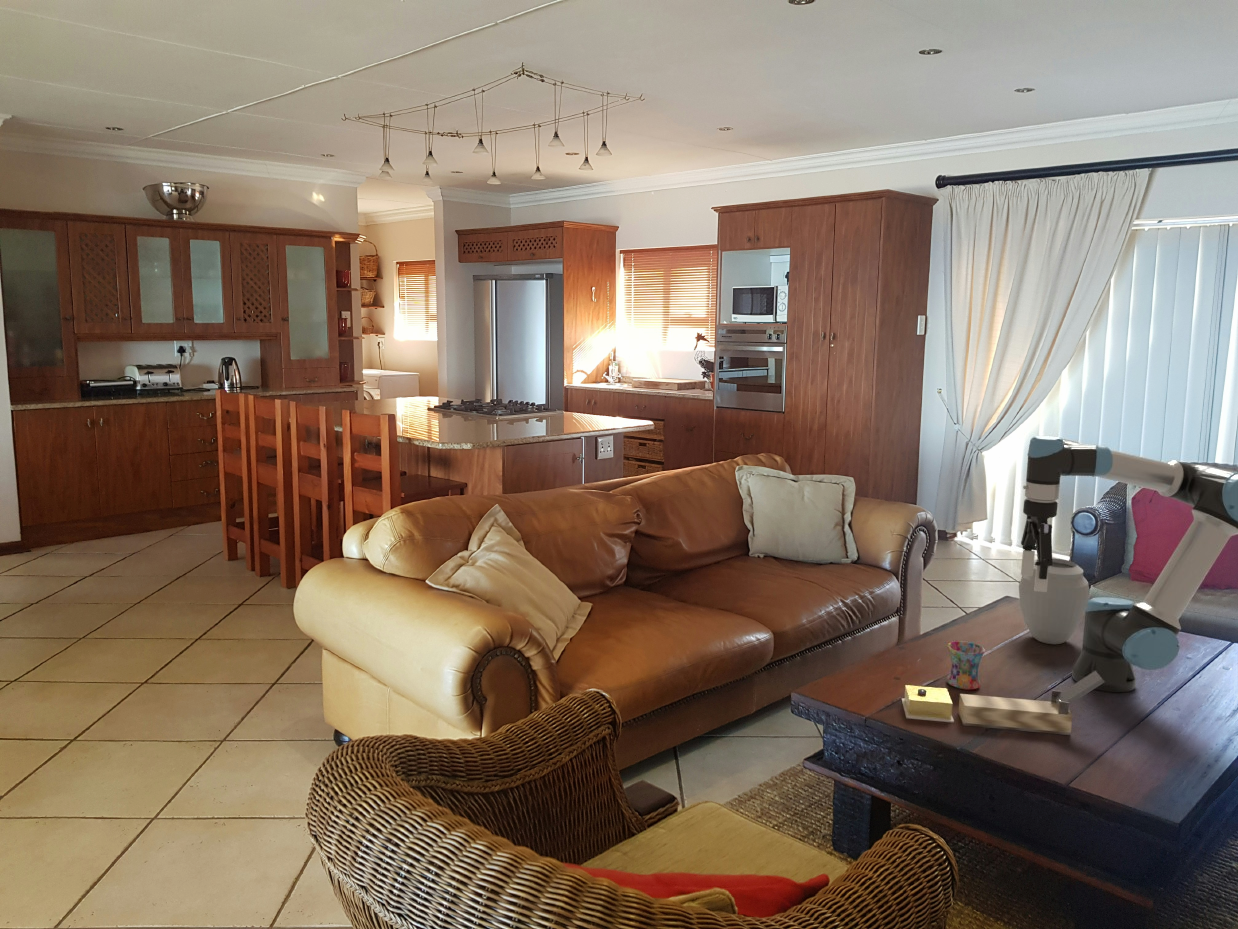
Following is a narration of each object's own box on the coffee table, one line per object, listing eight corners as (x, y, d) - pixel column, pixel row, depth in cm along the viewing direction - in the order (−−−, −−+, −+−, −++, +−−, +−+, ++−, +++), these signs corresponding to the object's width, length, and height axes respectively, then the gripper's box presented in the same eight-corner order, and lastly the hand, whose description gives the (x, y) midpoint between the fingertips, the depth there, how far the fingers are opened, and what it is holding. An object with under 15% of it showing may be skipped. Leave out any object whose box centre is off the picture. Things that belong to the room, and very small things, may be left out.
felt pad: (946, 703, 231) (946, 702, 231) (953, 722, 221) (953, 721, 221) (901, 699, 234) (901, 698, 233) (906, 718, 223) (906, 716, 223)
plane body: (1062, 722, 222) (1065, 691, 220) (1070, 735, 215) (1073, 703, 214) (958, 712, 226) (960, 682, 225) (963, 725, 219) (965, 693, 218)
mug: (971, 695, 237) (974, 656, 235) (938, 684, 244) (941, 646, 242) (992, 683, 245) (996, 645, 243) (959, 673, 252) (962, 636, 250)
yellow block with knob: (945, 703, 231) (946, 685, 230) (951, 719, 222) (952, 700, 221) (904, 700, 232) (905, 682, 232) (908, 715, 224) (909, 696, 223)
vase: (1081, 656, 265) (1089, 575, 261) (1009, 643, 275) (1016, 565, 271) (1087, 637, 281) (1095, 560, 277) (1019, 625, 291) (1026, 551, 287)
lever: (1056, 701, 220) (1098, 673, 218) (1062, 710, 215) (1105, 682, 212) (1053, 697, 220) (1094, 669, 218) (1059, 706, 215) (1102, 678, 212)
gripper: (1013, 489, 236) (1006, 568, 240) (1037, 509, 212) (1029, 597, 216) (1044, 490, 235) (1036, 570, 238) (1072, 510, 211) (1063, 599, 214)
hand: (1033, 583), depth 227 cm, fingers open, 13 cm apart
